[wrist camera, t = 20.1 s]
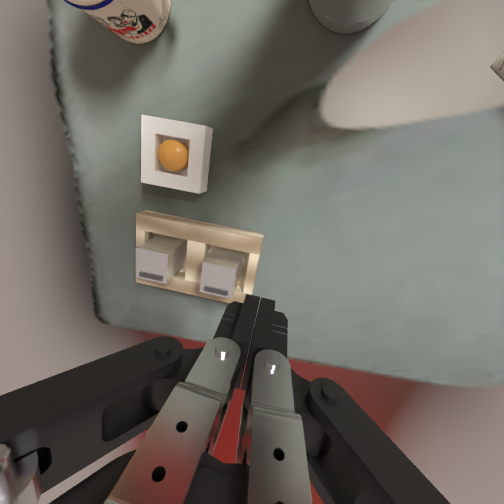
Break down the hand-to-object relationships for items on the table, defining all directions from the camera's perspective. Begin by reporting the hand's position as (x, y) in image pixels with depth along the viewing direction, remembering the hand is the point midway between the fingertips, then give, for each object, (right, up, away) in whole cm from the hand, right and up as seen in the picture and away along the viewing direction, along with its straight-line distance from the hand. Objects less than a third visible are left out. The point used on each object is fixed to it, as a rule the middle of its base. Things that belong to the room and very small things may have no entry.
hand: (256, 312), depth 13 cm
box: (-10, +16, +22) cm, 29 cm away
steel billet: (-13, +3, +26) cm, 29 cm away
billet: (-4, +1, +26) cm, 26 cm away
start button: (-10, +16, +21) cm, 28 cm away
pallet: (-8, +2, +26) cm, 28 cm away
